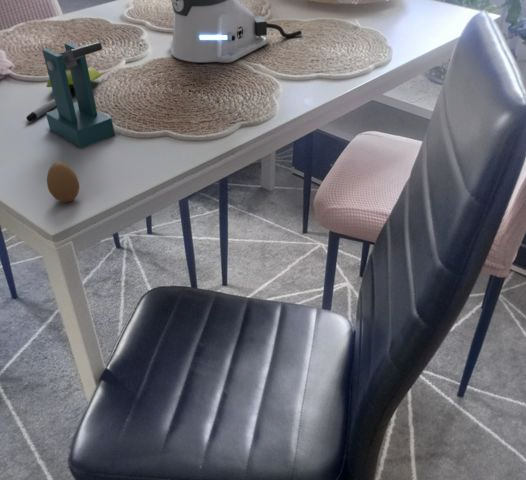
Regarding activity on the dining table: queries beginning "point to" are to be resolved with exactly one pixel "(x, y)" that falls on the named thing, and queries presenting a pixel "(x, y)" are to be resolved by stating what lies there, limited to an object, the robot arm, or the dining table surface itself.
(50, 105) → the pen
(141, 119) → the dining table surface
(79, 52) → the lever
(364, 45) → the dining table surface
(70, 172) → the egg
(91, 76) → the saucer
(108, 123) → the teal axle stand
